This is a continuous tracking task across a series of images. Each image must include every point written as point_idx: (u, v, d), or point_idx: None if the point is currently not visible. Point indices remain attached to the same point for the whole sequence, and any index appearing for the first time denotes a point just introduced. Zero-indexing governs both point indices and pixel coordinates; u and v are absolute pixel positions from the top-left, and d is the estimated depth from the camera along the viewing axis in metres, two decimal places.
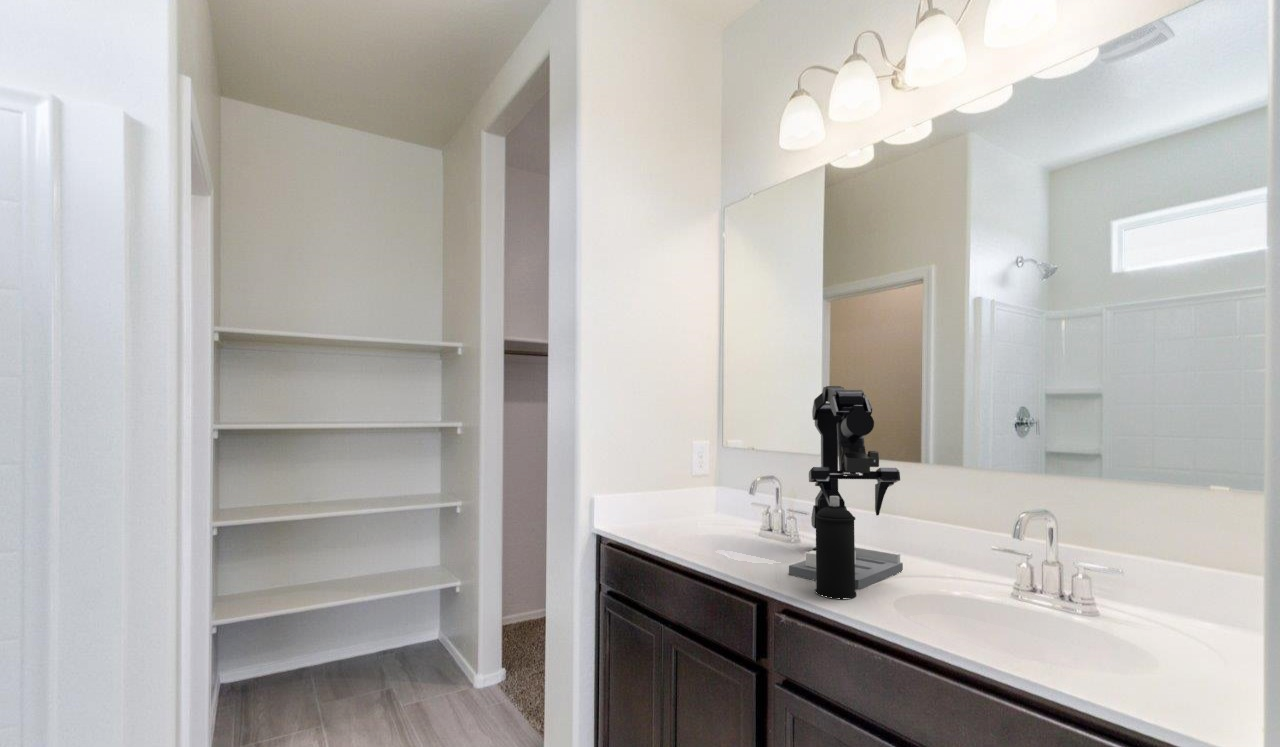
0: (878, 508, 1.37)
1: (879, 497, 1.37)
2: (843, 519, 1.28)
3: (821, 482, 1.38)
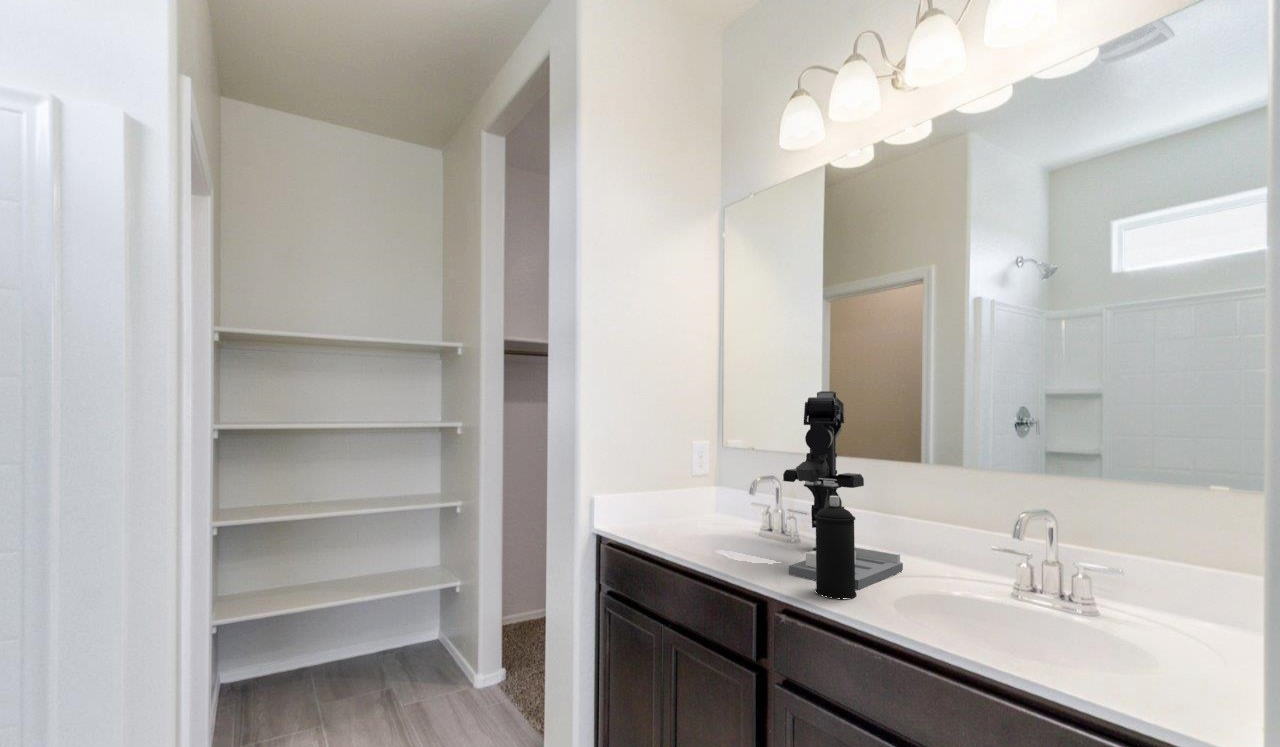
0: (822, 508, 1.51)
1: (822, 499, 1.51)
2: (843, 519, 1.28)
3: (805, 486, 1.53)
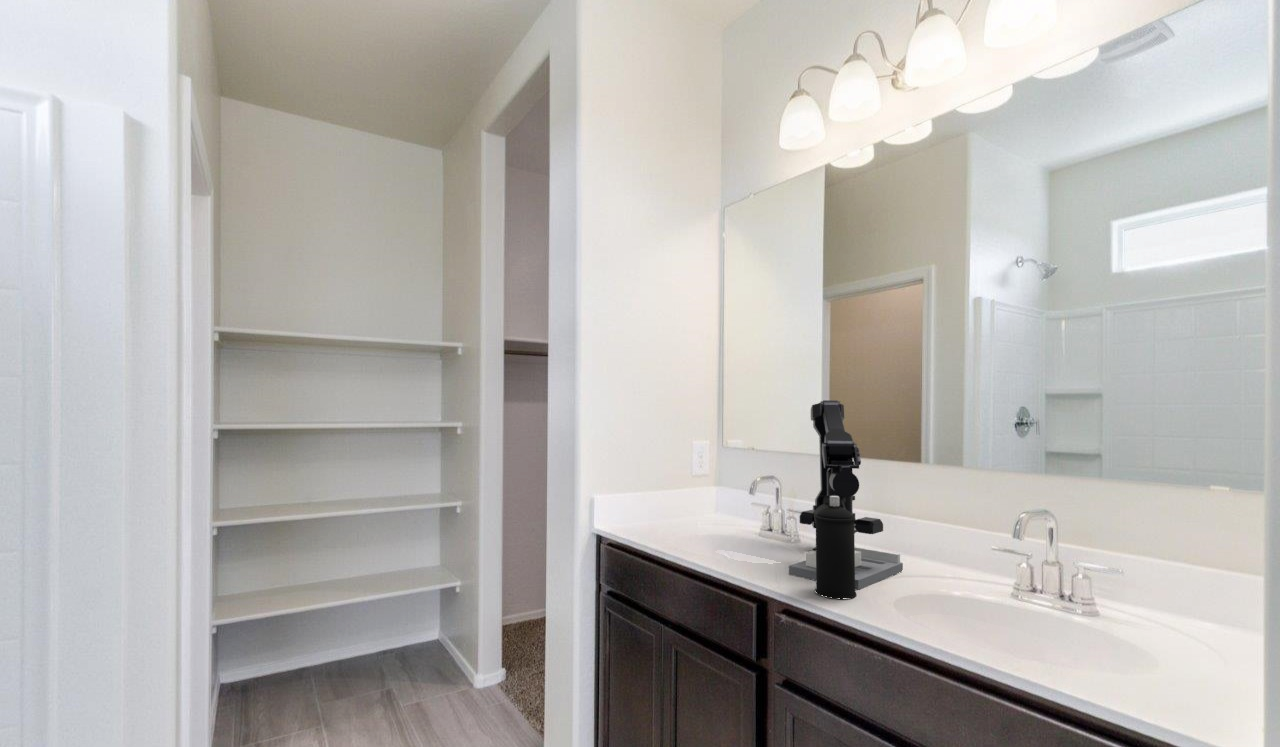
0: None
1: None
2: (843, 519, 1.28)
3: None
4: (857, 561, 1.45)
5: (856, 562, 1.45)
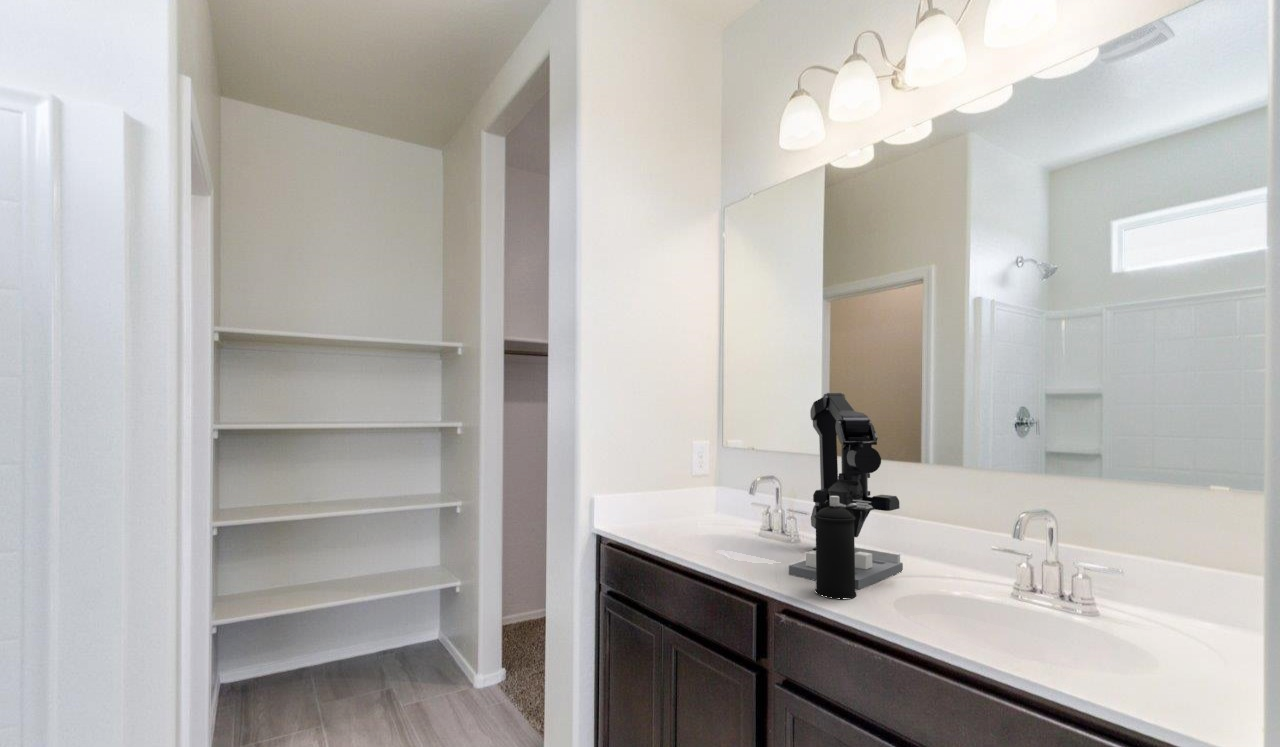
0: (855, 531, 1.45)
1: (855, 521, 1.45)
2: (843, 519, 1.28)
3: None
4: (869, 563, 1.43)
5: (867, 564, 1.43)
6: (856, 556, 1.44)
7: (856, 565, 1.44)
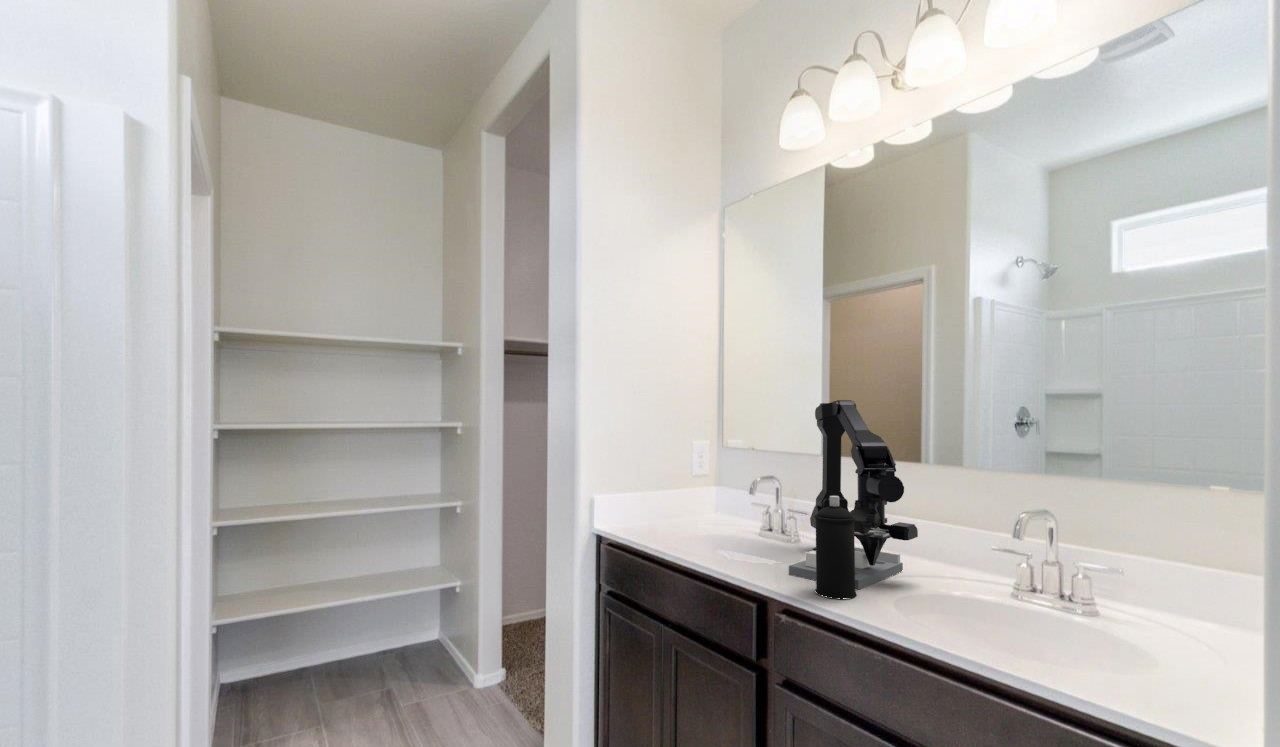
0: (871, 559, 1.42)
1: (872, 549, 1.42)
2: (843, 519, 1.28)
3: (854, 535, 1.43)
4: (865, 563, 1.44)
5: (864, 564, 1.43)
6: None
7: None
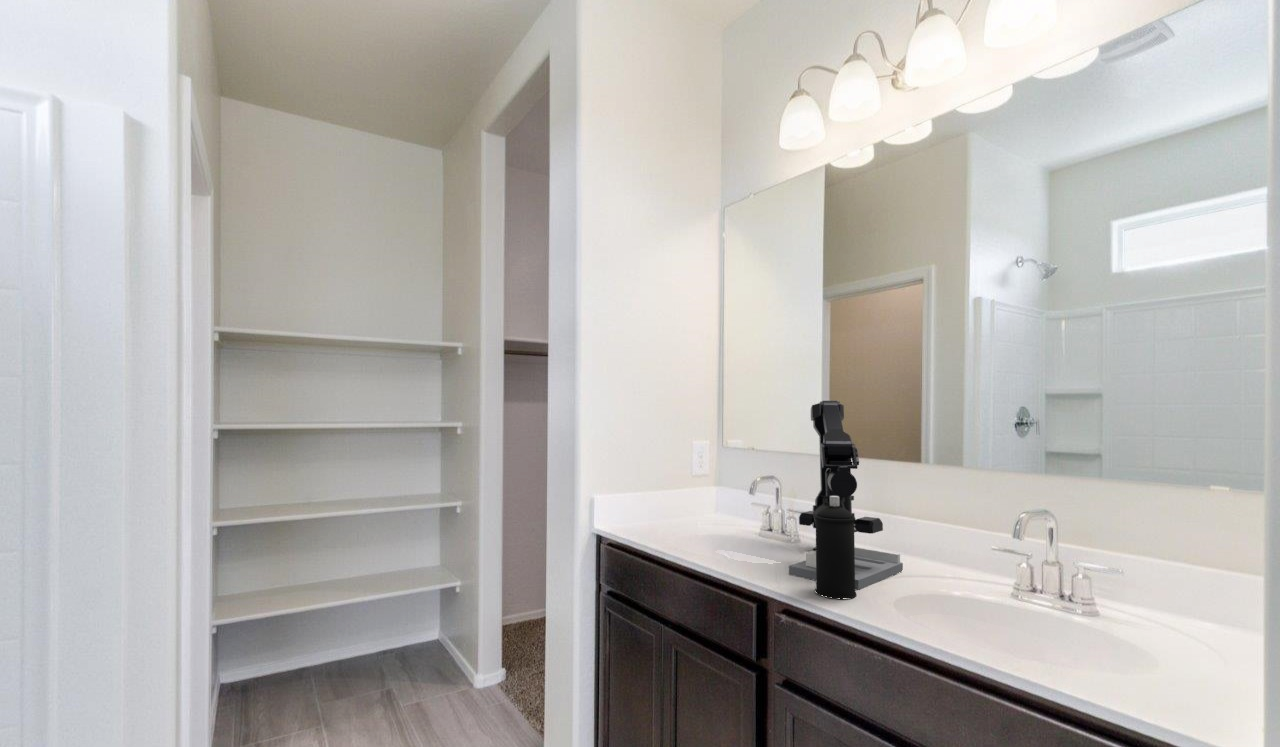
0: None
1: None
2: (843, 519, 1.28)
3: None
4: None
5: None
6: None
7: None
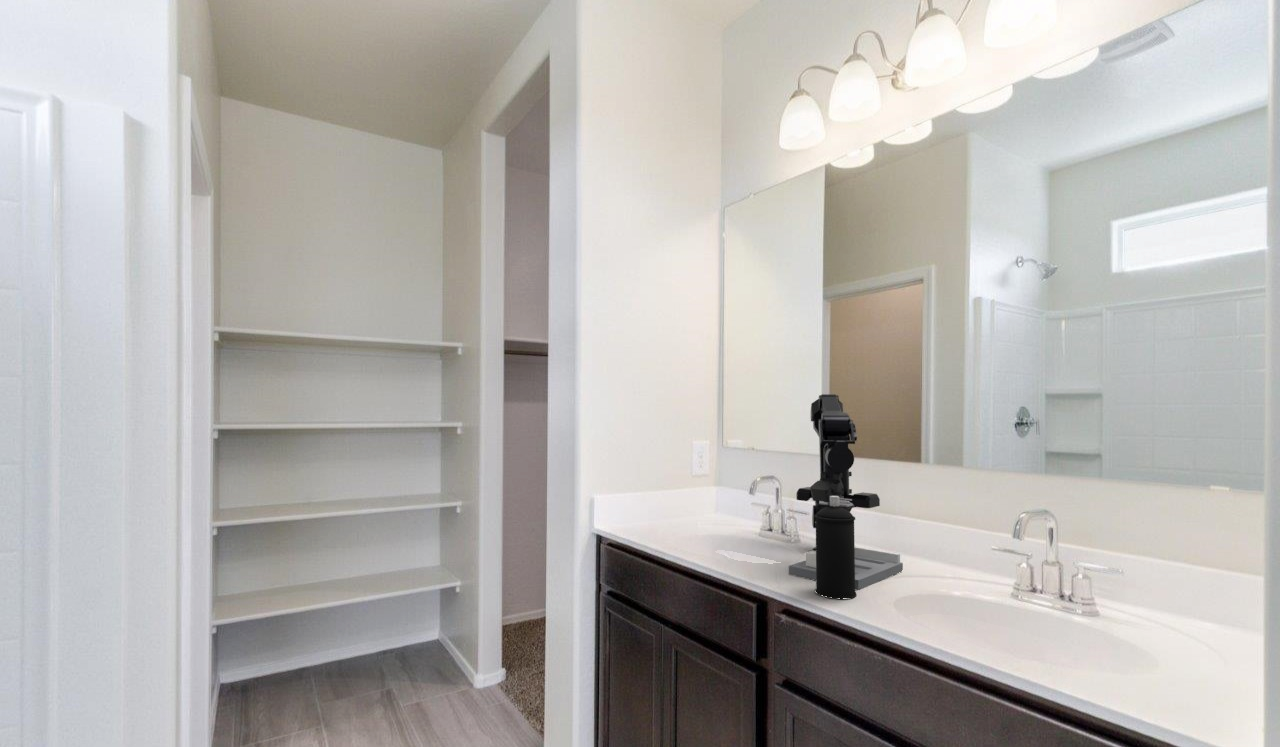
0: None
1: None
2: (843, 519, 1.28)
3: (820, 505, 1.49)
4: None
5: None
6: None
7: None
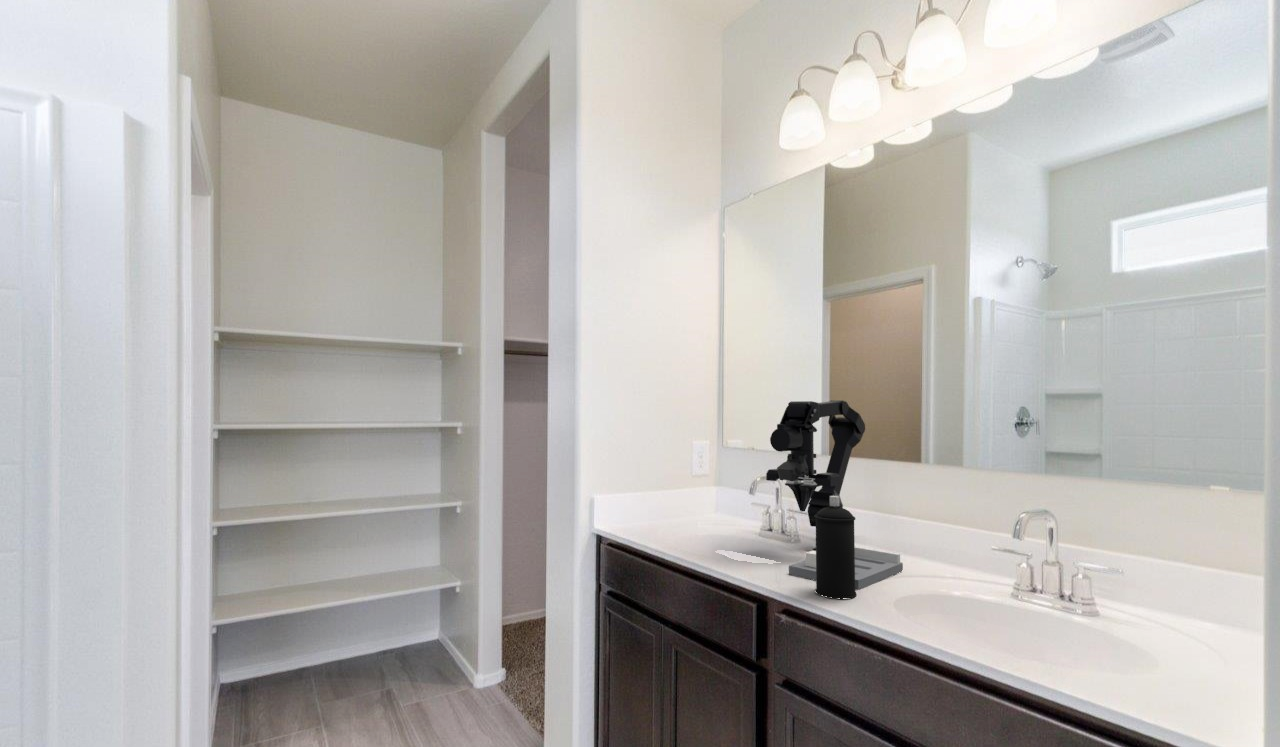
0: (802, 506, 1.61)
1: (802, 497, 1.61)
2: (843, 519, 1.28)
3: (786, 484, 1.62)
4: None
5: None
6: None
7: None
